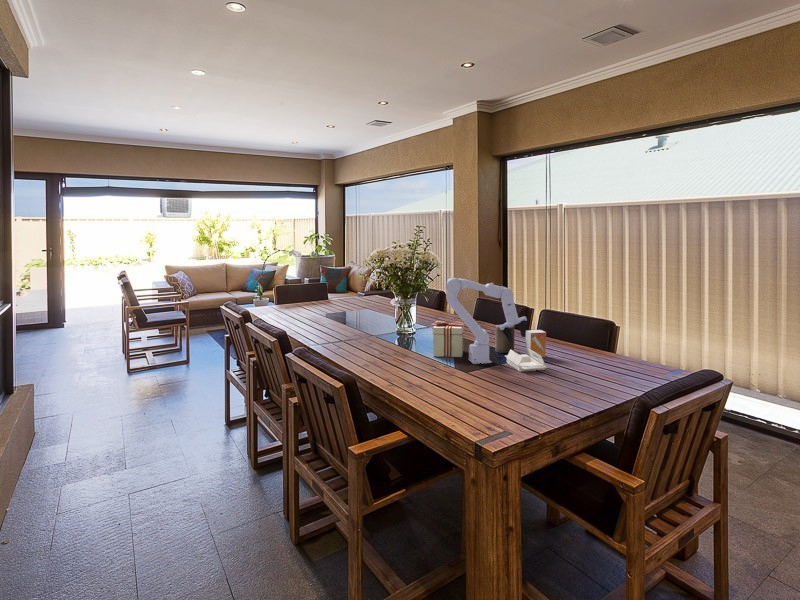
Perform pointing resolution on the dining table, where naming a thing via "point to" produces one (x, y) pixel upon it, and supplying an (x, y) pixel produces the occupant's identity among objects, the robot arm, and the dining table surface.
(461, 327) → the gift box
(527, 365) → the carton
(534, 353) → the flap
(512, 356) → the flap
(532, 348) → the small box
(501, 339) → the pillar candle
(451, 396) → the dining table surface
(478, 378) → the dining table surface
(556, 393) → the dining table surface
